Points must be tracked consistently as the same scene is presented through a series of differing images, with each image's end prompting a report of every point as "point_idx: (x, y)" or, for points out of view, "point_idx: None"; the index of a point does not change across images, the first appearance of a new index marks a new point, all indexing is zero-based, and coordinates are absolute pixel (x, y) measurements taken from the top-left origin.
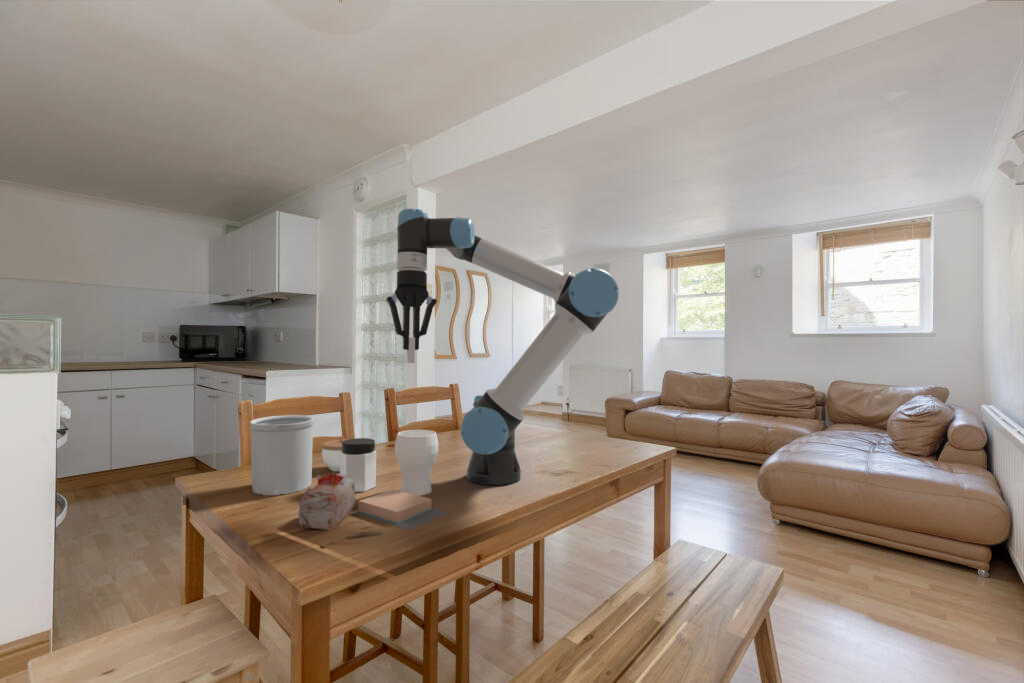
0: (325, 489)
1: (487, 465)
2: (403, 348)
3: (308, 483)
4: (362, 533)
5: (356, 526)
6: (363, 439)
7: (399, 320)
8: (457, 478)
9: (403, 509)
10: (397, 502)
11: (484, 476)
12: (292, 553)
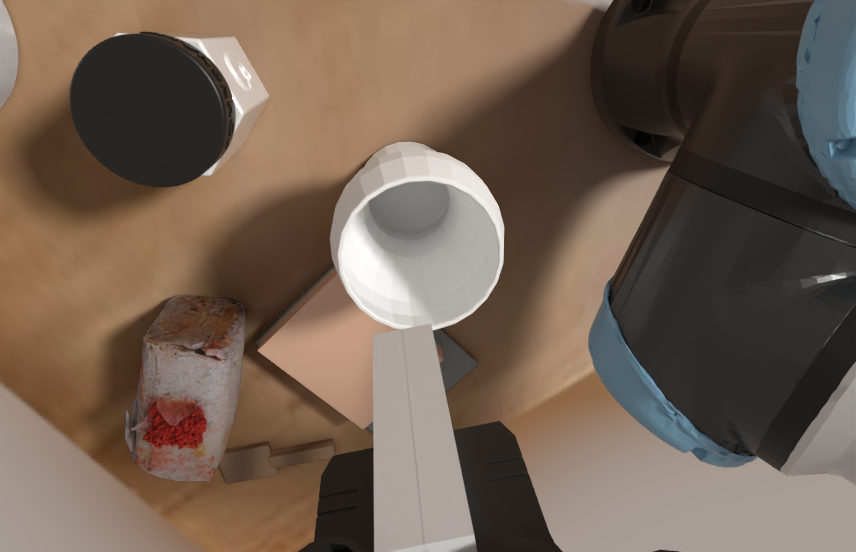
0: (182, 468)
1: (668, 147)
2: (327, 472)
3: (12, 61)
4: (297, 458)
5: (274, 395)
6: (162, 75)
7: None
8: (560, 38)
9: None
10: (359, 373)
11: (638, 150)
12: (183, 491)
